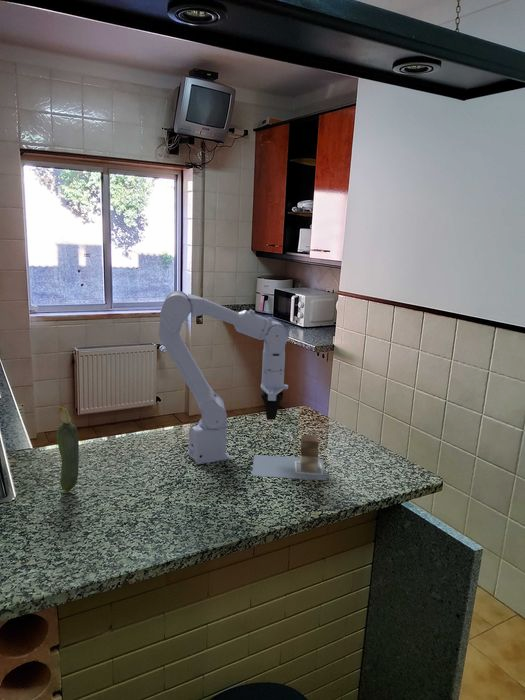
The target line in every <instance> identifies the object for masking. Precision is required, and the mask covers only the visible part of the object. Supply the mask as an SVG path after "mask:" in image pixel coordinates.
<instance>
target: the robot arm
mask: <svg viewBox="0 0 525 700" xmlns="http://www.w3.org/2000/svg"><path fill="white" fill-rule="evenodd" d="M190 314H191V317H192V318H196V317H199V316H207V317H210V318H213V319H217V320H219V321H222V322H225V323H227V324H231V325H233V326H234V329H235V330H236V332H237V333H240V334H243V335H246V336H248V337H250V338H254V339H256V340H260V341H262V340H263V350H262V363H261V365H262V366H261V367H262V368H261V383H260V389H261V394H260V396H261V399H262V401H263V404H264V407H265V408H264V409H265V416H266V419H267V420H270V421H271V420H274V421H275V420H276V417H277V414H278V409H279V406H280V404H281V402H282V400H283V397H284V390H288V389H289V384H285V369H286V368H285V365H286V351H285V350H286V344H287V342H288V341H289V334H288V330H287V328H286V326H284V325H283V324H282V323H281V322H280V321H278V320H276V319H273V318H272V317H269V316H268V317H265V316H262V315H260V314H256V312H255V310H253V309H251V308H250V309H249V310H246V309H244V310H241V311H239V312H237V311H235V310H232V309H231V308H228V307H225V306H224V305H220V304H218V303H217V302H213V301H211V300H208V299H207V298H204V297H201V296H198V295H195V294H191V293H188V294H187V293H185V292H183V291H181V290H175V291H171V292H170V293H169V294H168V295H166V297H165V300H164V302H163V304H162V306H161V310H160V313H159V315H160V316H159V327H158V337H159V340H160V342H161V343H162V345H163V347H164V348H165V350H166V352H167V354H168V355H169V356H170V359H171V360H172V362H173V363H174V365H175V367H176V368H177V370H178V372H179V373H180V375H181V377H182V379H183V380H184V382H185V384H186V386H187V387H188V389H189V390H190V393H191V395H192V396H193V397H194V400H195V402H196V405H197V407H198V409H199V411H200V413H201V418H200V420H199V421H198V424H196V425H194V426H191V427H190V428H189V430H188V451H187V452H186V453H187V455H188V456H189V457H190V458H192V459H193V461H194V462H195V463H196V464H198V465H201V464H208V463H212V462H218V461H225V460H230V459H232V456H231V455H229V453H227V433H228V422H227V419H228V414H227V411H226V408H225V406H226V405H225V401H224V400H223V399H224V398H222V397H221V396H219V394H217V393H215V391H214V390H213V388H212V386H211V385H210V384H209V382H208V381H207V379H206V378H205V375H204V374H203V371H202V370H201V369H200V367H199V365H198V364H197V362H196V359H194V357H193V355H192V353H191V352H190V349H189V348H188V347H187V345H186V343H185V341H184V339H183V337H182V335H181V334H180V333H181V331H182V327H183V324H184V322H185V321H186V320H187V319H188V318H189V316H190Z"/></svg>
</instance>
